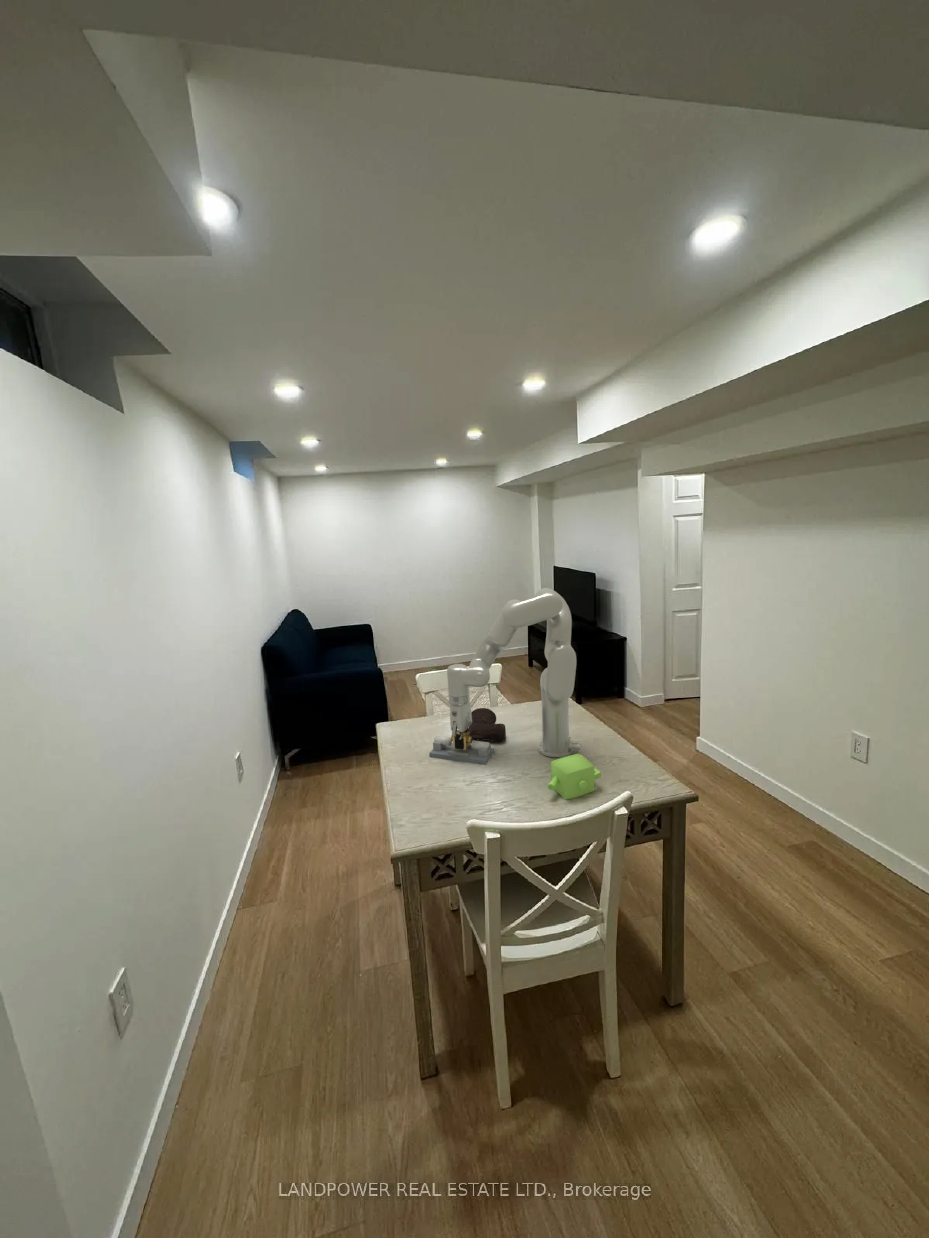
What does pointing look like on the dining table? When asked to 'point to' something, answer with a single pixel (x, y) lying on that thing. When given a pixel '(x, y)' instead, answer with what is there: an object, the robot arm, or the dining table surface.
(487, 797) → the dining table surface
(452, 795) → the dining table surface
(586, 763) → the gearbox
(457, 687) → the robot arm
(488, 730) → the dark brown l-shaped piece
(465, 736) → the coupler
